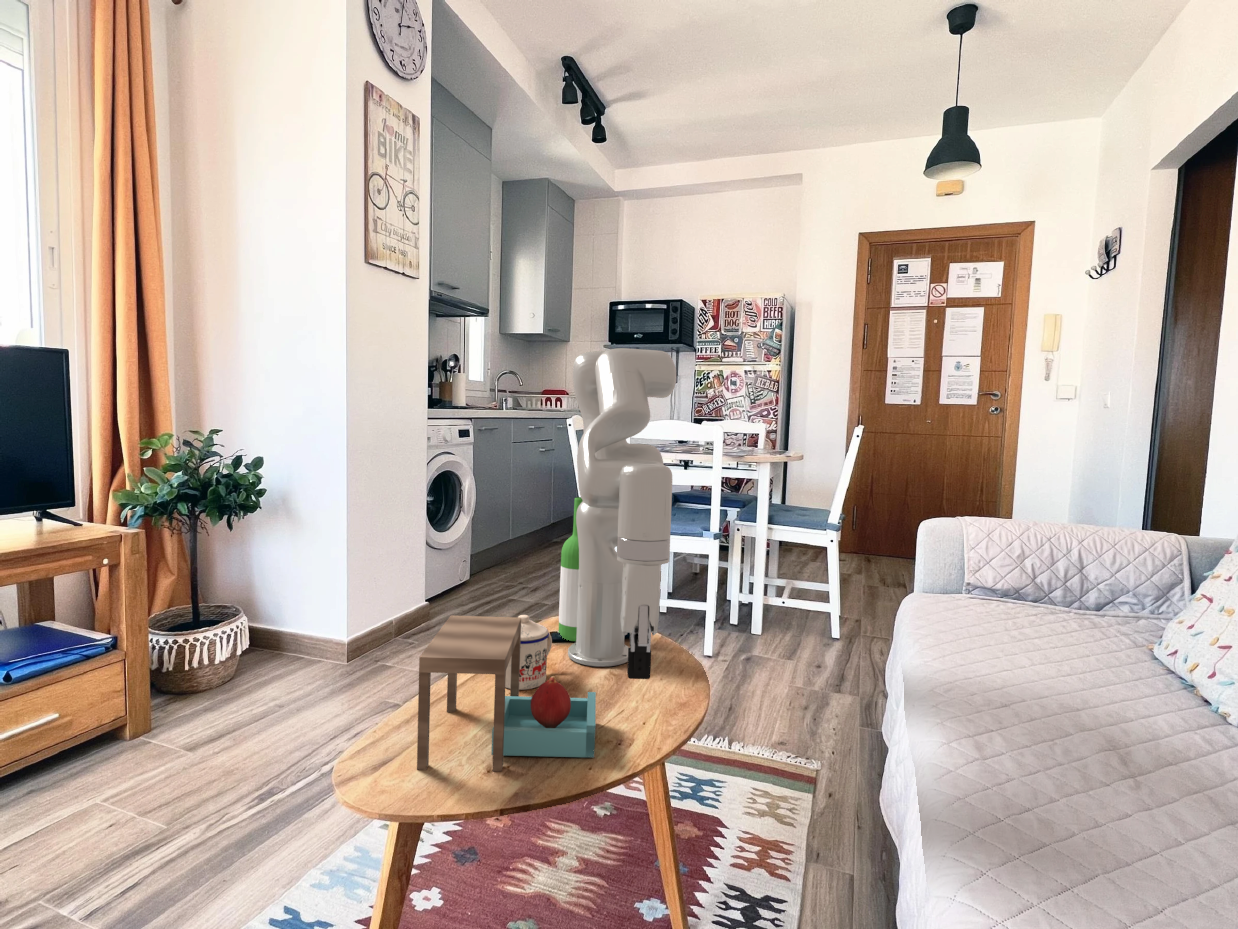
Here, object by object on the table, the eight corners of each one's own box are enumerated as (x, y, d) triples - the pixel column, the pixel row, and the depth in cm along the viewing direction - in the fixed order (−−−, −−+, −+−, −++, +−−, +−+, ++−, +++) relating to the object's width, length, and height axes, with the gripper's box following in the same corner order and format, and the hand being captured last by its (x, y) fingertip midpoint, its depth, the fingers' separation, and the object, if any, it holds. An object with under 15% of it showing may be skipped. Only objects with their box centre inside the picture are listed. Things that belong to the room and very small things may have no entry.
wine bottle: (599, 634, 142) (605, 497, 140) (586, 645, 134) (591, 501, 132) (566, 629, 144) (571, 494, 142) (552, 639, 137) (557, 498, 135)
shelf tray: (503, 718, 99) (504, 689, 99) (594, 720, 100) (595, 692, 100) (491, 755, 88) (492, 723, 88) (594, 757, 89) (595, 725, 89)
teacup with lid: (522, 696, 108) (524, 627, 108) (484, 681, 114) (486, 616, 113) (568, 674, 118) (570, 612, 118) (531, 662, 123) (533, 602, 123)
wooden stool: (448, 708, 103) (450, 615, 102) (518, 710, 103) (521, 617, 102) (416, 769, 85) (419, 657, 84) (501, 771, 85) (505, 659, 84)
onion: (521, 729, 94) (523, 675, 93) (550, 716, 98) (551, 665, 98) (549, 743, 90) (551, 687, 90) (578, 729, 95) (580, 676, 94)
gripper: (615, 541, 100) (611, 659, 101) (618, 559, 85) (613, 697, 86) (664, 542, 100) (659, 660, 101) (675, 560, 85) (670, 698, 86)
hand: (638, 676), depth 93 cm, fingers closed
